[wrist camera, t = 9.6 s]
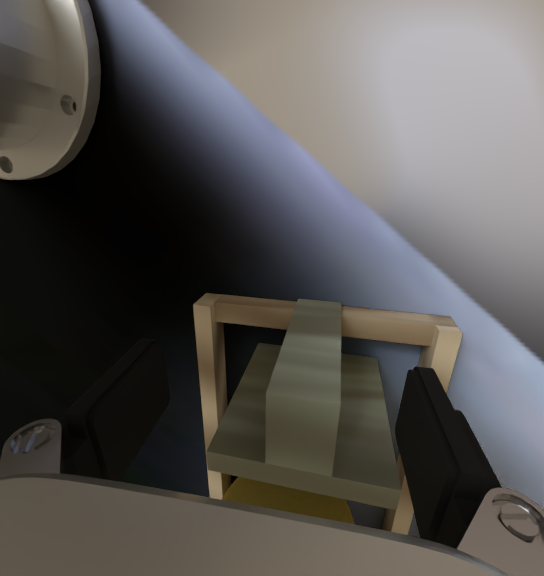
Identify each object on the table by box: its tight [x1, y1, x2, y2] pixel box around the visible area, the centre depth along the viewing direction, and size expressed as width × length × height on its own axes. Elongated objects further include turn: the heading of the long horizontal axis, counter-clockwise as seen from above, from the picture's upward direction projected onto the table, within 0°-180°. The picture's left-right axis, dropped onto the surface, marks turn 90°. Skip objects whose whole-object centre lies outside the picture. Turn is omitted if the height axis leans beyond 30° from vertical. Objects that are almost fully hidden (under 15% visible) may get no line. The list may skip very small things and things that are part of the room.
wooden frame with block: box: [193, 293, 463, 535], centre depth 17 cm, size 20×14×8 cm
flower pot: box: [222, 477, 354, 524], centre depth 19 cm, size 9×9×9 cm
